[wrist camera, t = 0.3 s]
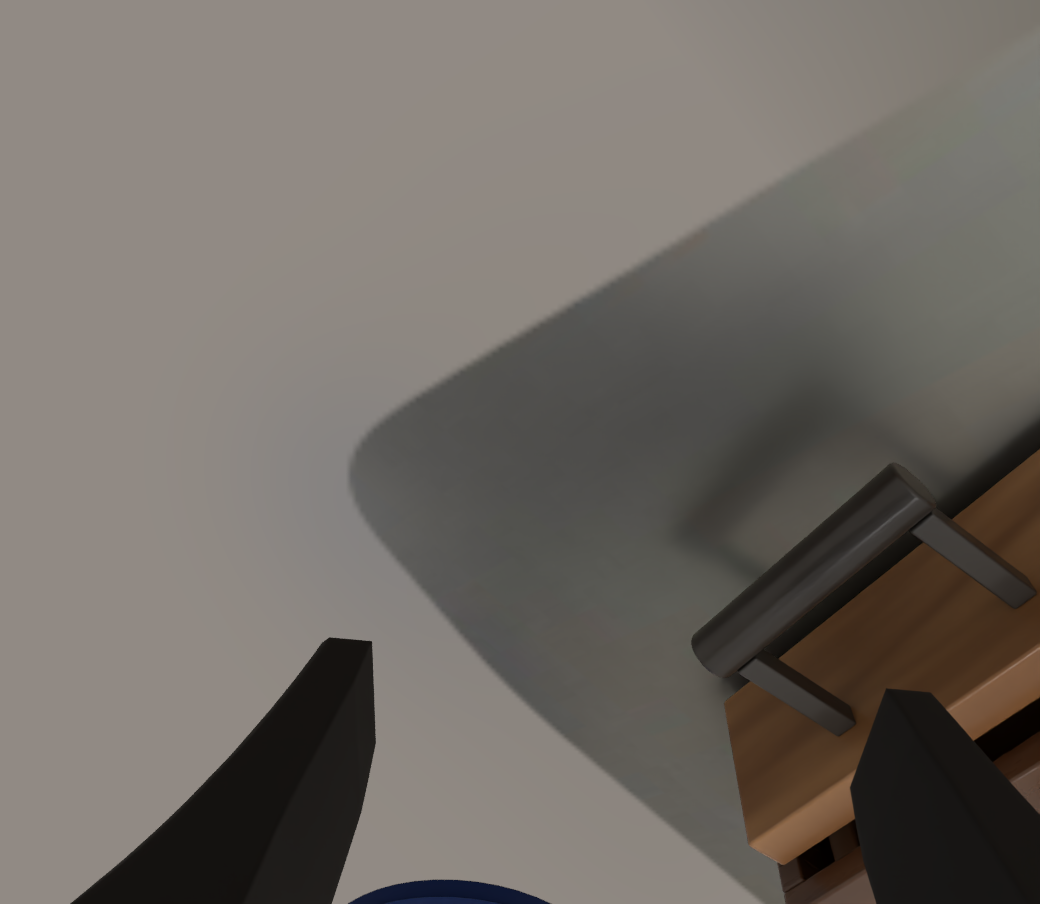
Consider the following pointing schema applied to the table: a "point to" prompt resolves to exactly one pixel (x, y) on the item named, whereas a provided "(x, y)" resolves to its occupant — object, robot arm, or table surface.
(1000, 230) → the table surface
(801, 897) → the cabinet
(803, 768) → the drawer
